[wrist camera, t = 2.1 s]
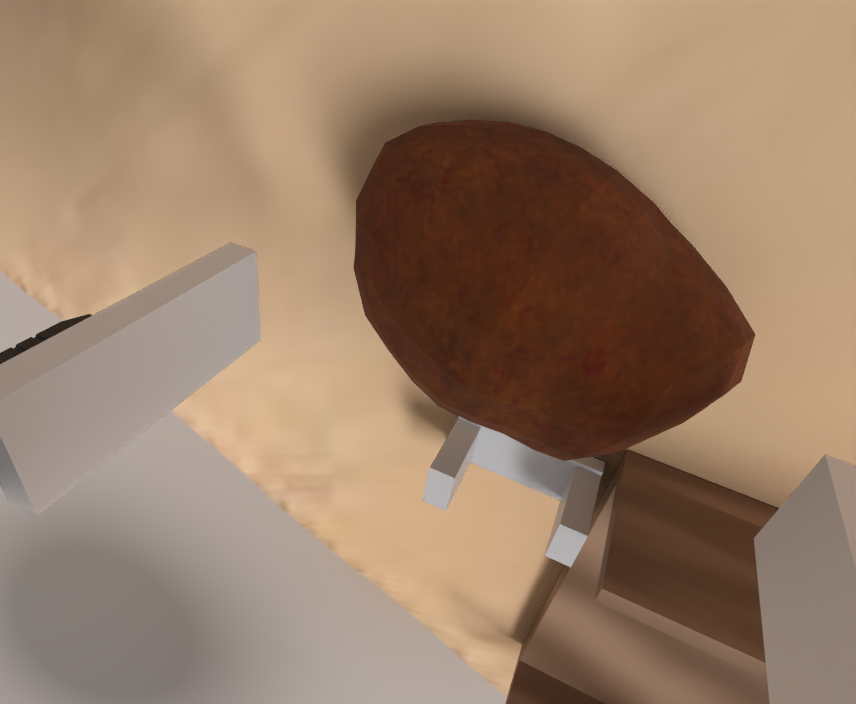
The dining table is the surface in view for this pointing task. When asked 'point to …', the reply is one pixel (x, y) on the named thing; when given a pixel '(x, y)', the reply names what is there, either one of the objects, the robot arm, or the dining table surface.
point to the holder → (654, 600)
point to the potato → (540, 290)
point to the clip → (521, 480)
